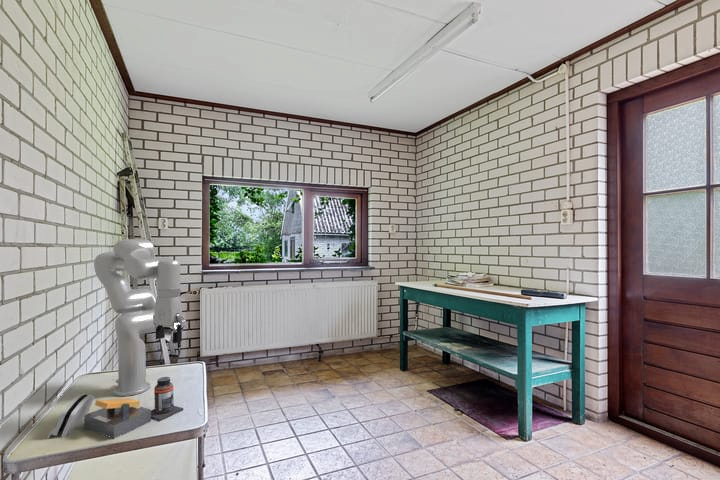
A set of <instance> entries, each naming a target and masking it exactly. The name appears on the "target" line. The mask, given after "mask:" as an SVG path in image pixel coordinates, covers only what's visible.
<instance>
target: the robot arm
mask: <svg viewBox="0 0 720 480" xmlns="http://www.w3.org/2000/svg"><path fill="white" fill-rule="evenodd" d="M154 254H155V246H154V244H153V242H152V241H151V240H149V239H147V238H145V239H144V238H132V239H131V238H128V239H121V240H118V241H117V242H116V243H115V244H114V245H113V251H105V252H102V253H99V254H98V255H97V256H95V258H94V261H93V268H94V272H95V275H96V277H97V278H98V280H99V282H100V283H101V284H102V286H103V287H104V289H105V291H106V293H107V297H108V299H109V303H110V305H111V307H112V309H113V312H114V313H117V314H118V315H119V316H117V317H116V319H115V321H114V329H115V333H116V337H117V338H116V339H117V357H118V358H117V360H118V363H117V364H118V366H117V367H118V370H117V371H118V372H117V373H118V379H116V380H115V383H116V384H117V387H116V388H115V389H113V394H114V395H115V396H117V397H128V396H134V395H139V394H141V393H144V392H147V391H148V390H149V389H150V388H151V383H149V382H148V381H147V378H146V377H147V366H146V362H147V361H146V360H147V358H146V355H147V354H146V344H145V342H144V340H142V339H141V337H140V335H145V334H149V333H153V332H155V340H161V339H164V338H165V336H166V334H165V333H166V331H165V330H166V327H168V328H170V327H171V328H172V330H173V332H172V344H178V343H181V342H182V340H183V337H182V335H183V330H184V327H185V325H186V322H187V321H186V319H185V318H184V317H183V311H182V310H183V309H182V300H181V262H180V260H177V259H171V258H166V257H165V258H163V257H162V258H159V257H158V258H153V255H154ZM118 272H126V274H127V275H128V276H129V277H131V278H134V279H136V280H139V281H141V280H142V281H143V280H144V281H145V280H153V279H156V280H157V281H156V282H157V283H156V289H157V290H156V295H155V294H154V291H152V290H150V289H148V288H138V289H133V288H132V287H131V286H130V283H129V280H127V279H126V277H124V276H123V275H121V274H120V273H118Z"/></svg>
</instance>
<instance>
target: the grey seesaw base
mask: <svg viewBox="0 0 720 480" xmlns="http://www.w3.org/2000/svg"><path fill="white" fill-rule="evenodd" d="M151 410H152V409H151V408H147V407H143V406H140V405H139V406H135V407H129V404H128V403H127V404H125V405H122V406H121V408H110V409H105V408H102V407H101V408H100V409H98V410H95V411H92V412H90V413H88V414H87V415H84V418H83V419H84V427H83V429H87V430H90V431H93V432H95V433H98V434H100V435H103V436H106V435H107V436H106V437H108V436H110V437H109V438H111V437H112V438H111V439H114V438H115V439H117V438H119V437H121V436H123V435H125V434H127V433H129V432H131V431H132V432H133V431H134V430H136V429H138V428H140V427H142V426H145V425H147V424H149V423H151V422H152V418H151ZM120 435H121V436H120ZM118 436H119V437H118ZM116 437H117V438H116Z"/></svg>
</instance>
